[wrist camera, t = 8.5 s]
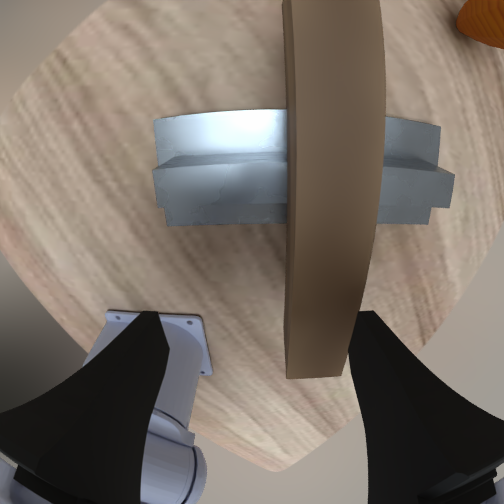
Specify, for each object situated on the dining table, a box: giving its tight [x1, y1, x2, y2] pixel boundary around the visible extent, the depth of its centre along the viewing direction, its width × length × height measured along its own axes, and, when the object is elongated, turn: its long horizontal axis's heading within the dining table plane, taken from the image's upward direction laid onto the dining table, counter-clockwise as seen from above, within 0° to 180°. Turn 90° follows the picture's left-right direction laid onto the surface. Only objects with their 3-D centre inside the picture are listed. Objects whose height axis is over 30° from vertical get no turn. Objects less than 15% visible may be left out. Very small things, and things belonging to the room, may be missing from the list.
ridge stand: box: [152, 110, 455, 226], centre depth 15 cm, size 18×7×5 cm, turn 92°
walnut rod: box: [282, 0, 386, 379], centre depth 11 cm, size 3×18×4 cm, turn 2°
